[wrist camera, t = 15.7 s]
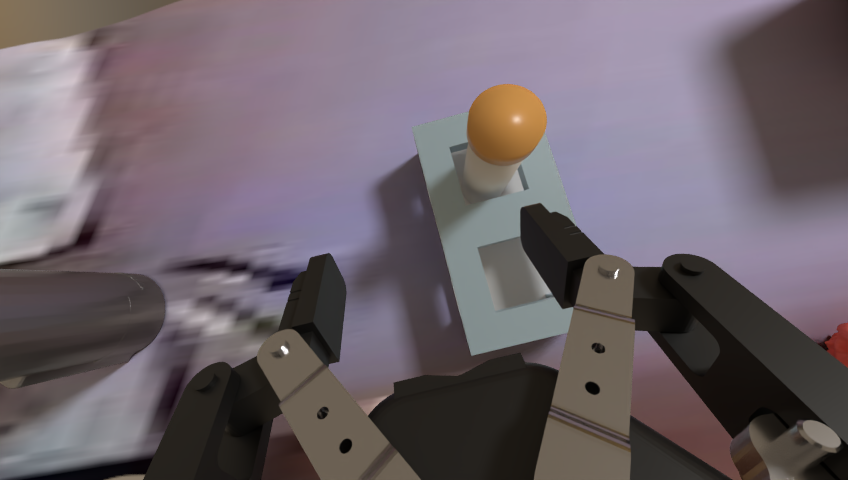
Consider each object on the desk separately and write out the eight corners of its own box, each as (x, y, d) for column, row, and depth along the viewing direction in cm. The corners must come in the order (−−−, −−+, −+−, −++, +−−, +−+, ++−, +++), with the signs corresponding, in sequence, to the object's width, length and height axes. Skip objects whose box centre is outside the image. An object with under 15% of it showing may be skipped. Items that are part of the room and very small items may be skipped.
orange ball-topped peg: (493, 215, 33) (526, 169, 19) (451, 196, 34) (454, 138, 20) (512, 175, 33) (559, 101, 20) (471, 157, 34) (488, 73, 20)
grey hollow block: (579, 315, 32) (609, 322, 26) (467, 342, 32) (471, 355, 26) (518, 126, 35) (532, 94, 29) (417, 153, 36) (411, 127, 30)
